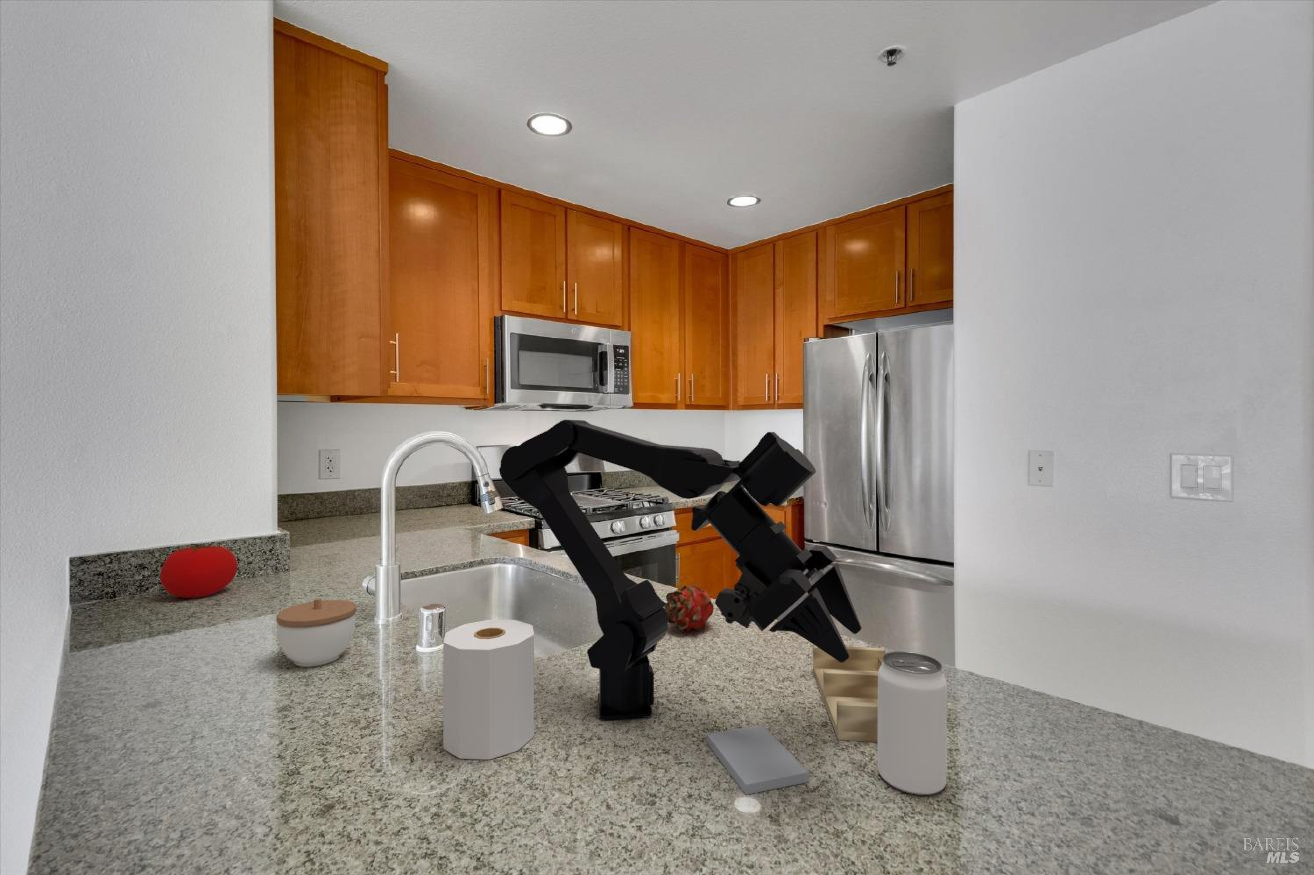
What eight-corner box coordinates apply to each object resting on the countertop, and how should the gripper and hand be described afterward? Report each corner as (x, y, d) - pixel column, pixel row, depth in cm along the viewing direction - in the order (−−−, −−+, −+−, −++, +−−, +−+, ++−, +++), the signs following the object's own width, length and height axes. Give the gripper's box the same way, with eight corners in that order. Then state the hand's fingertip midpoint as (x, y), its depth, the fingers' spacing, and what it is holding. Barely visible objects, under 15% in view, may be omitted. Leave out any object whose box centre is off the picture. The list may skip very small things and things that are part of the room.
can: (954, 801, 56) (955, 677, 56) (883, 793, 57) (884, 671, 57) (936, 764, 62) (937, 652, 62) (872, 757, 63) (873, 647, 63)
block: (745, 794, 57) (745, 784, 57) (706, 742, 66) (706, 733, 66) (808, 781, 59) (808, 772, 59) (761, 733, 68) (761, 724, 68)
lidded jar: (259, 666, 88) (259, 604, 87) (324, 642, 97) (324, 586, 97) (310, 678, 84) (309, 612, 83) (372, 652, 93) (371, 593, 93)
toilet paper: (535, 711, 74) (535, 616, 74) (532, 756, 63) (532, 646, 63) (451, 718, 72) (451, 620, 72) (434, 765, 62) (434, 651, 62)
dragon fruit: (670, 648, 99) (695, 636, 110) (710, 624, 97) (731, 614, 108) (646, 603, 102) (673, 596, 113) (684, 578, 100) (708, 573, 111)
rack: (838, 739, 67) (838, 705, 67) (812, 672, 86) (812, 645, 86) (929, 745, 66) (929, 709, 66) (883, 675, 85) (883, 648, 85)
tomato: (145, 602, 120) (145, 549, 120) (204, 585, 133) (204, 537, 133) (194, 605, 118) (194, 551, 118) (249, 588, 131) (249, 539, 131)
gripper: (731, 562, 78) (815, 658, 73) (673, 597, 61) (777, 725, 56) (790, 506, 74) (883, 604, 69) (745, 527, 58) (863, 658, 53)
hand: (852, 644), depth 62 cm, fingers open, 9 cm apart
